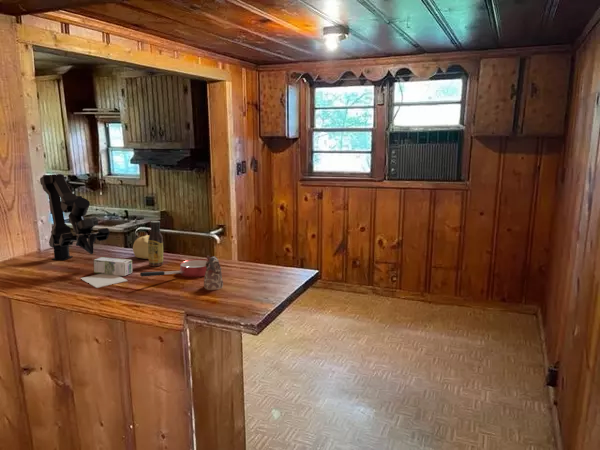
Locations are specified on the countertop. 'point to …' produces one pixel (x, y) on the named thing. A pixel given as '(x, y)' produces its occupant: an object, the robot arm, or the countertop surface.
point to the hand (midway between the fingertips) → (92, 253)
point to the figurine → (213, 274)
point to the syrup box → (113, 266)
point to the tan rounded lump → (141, 247)
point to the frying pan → (184, 269)
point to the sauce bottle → (155, 245)
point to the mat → (103, 280)
